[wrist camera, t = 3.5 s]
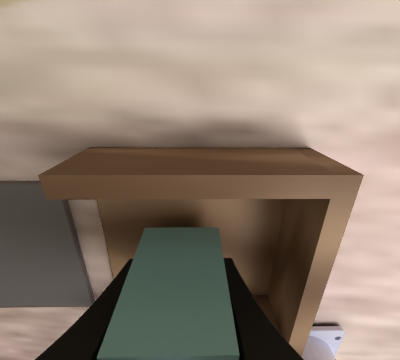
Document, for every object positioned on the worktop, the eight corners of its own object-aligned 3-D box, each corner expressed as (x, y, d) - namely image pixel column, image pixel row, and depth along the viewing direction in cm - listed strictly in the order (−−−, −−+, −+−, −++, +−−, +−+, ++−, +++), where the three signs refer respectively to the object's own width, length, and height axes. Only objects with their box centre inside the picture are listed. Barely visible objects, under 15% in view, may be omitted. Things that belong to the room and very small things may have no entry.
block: (215, 280, 13) (230, 420, 8) (151, 281, 13) (117, 423, 7) (218, 227, 11) (239, 355, 6) (144, 227, 11) (96, 357, 6)
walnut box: (276, 299, 16) (300, 360, 13) (121, 301, 16) (99, 364, 12) (309, 147, 12) (363, 175, 8) (89, 147, 11) (38, 175, 8)
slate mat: (95, 301, 16) (92, 306, 16) (-39, 303, 16) (-45, 308, 15) (61, 181, 12) (57, 184, 12) (-118, 181, 12) (-128, 184, 11)
